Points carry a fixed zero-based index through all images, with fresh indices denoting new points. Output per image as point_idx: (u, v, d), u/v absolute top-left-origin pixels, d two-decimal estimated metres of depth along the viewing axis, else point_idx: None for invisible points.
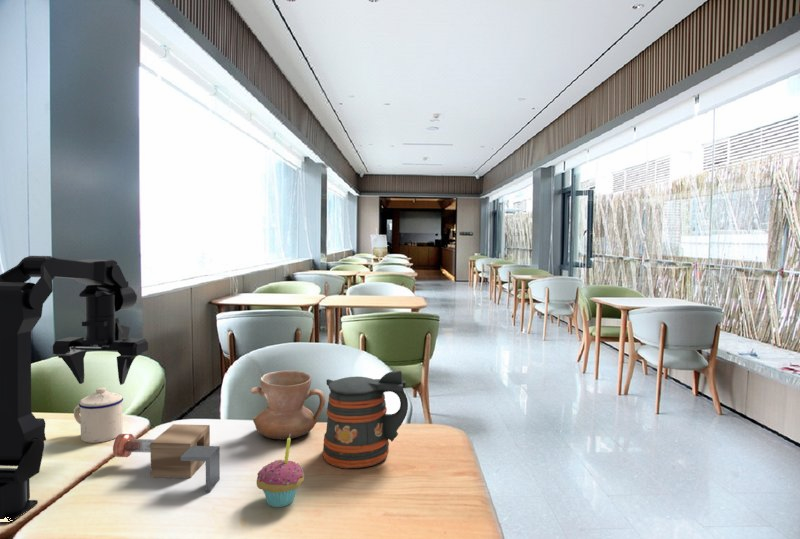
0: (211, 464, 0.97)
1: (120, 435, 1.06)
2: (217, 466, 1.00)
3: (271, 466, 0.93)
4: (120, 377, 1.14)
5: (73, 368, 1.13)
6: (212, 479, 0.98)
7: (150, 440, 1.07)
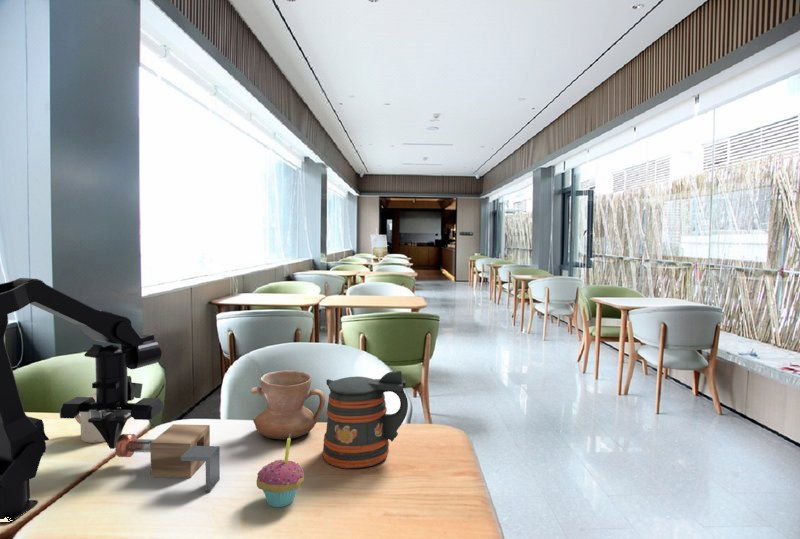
0: (211, 464, 0.97)
1: (123, 435, 1.06)
2: (217, 466, 1.00)
3: (271, 466, 0.93)
4: (112, 441, 1.06)
5: (104, 433, 1.05)
6: (212, 479, 0.98)
7: None
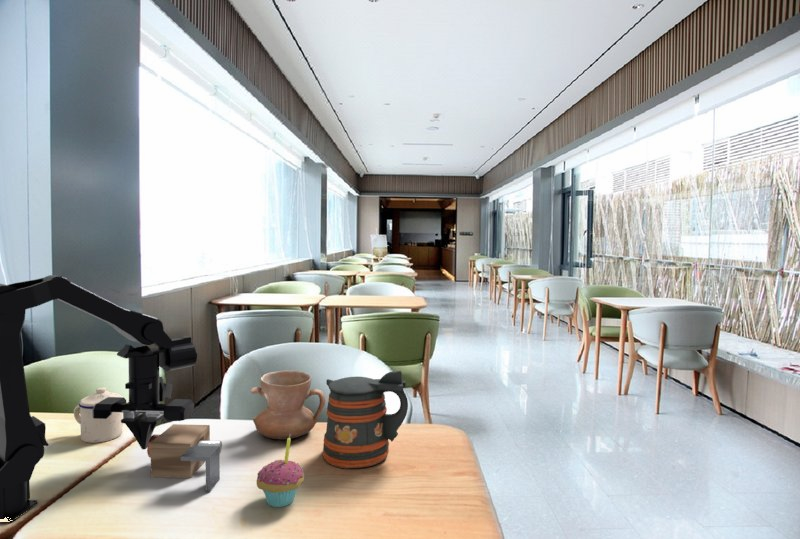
0: (211, 464, 0.97)
1: (154, 436, 1.06)
2: (217, 466, 1.00)
3: (271, 466, 0.93)
4: (143, 442, 1.06)
5: (136, 433, 1.05)
6: (212, 479, 0.98)
7: None
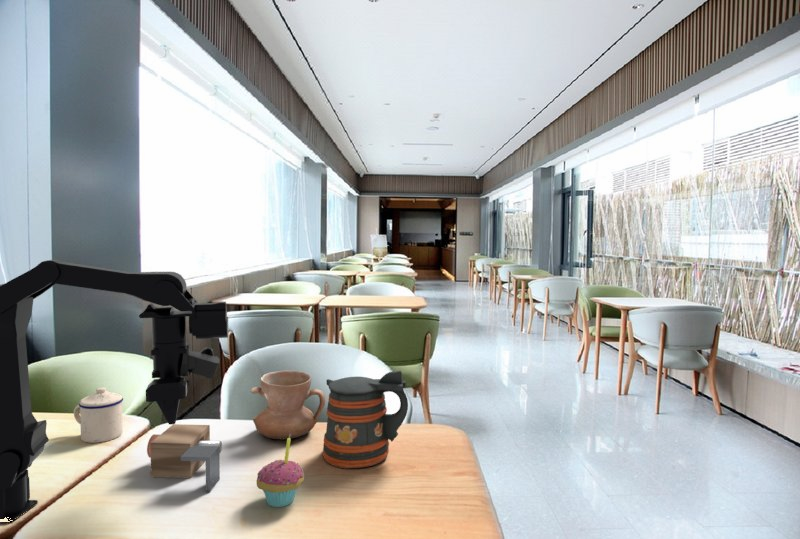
0: (211, 464, 0.97)
1: (154, 436, 1.06)
2: (217, 466, 1.00)
3: (271, 466, 0.93)
4: None
5: None
6: (212, 479, 0.98)
7: None
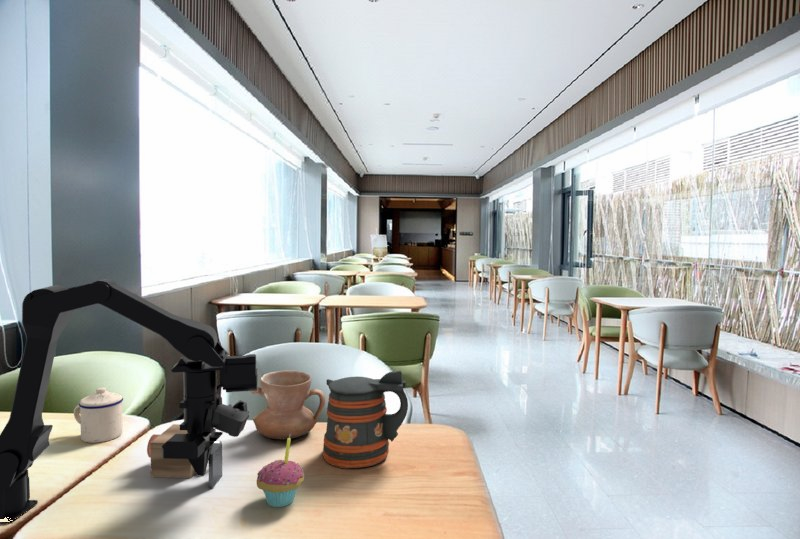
0: (213, 461, 0.98)
1: (154, 436, 1.06)
2: (219, 463, 1.01)
3: (271, 466, 0.93)
4: None
5: None
6: (215, 475, 0.99)
7: None
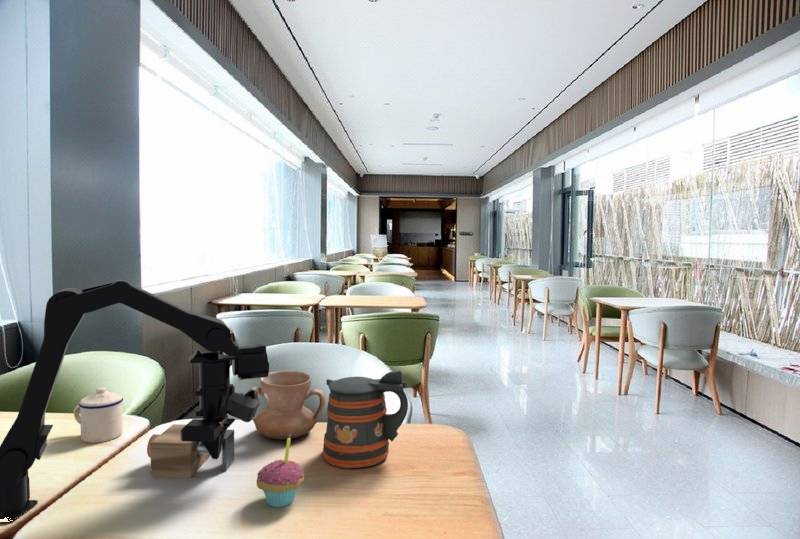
0: (226, 446, 1.05)
1: (154, 436, 1.06)
2: (232, 448, 1.09)
3: (271, 466, 0.93)
4: None
5: None
6: (228, 459, 1.06)
7: None
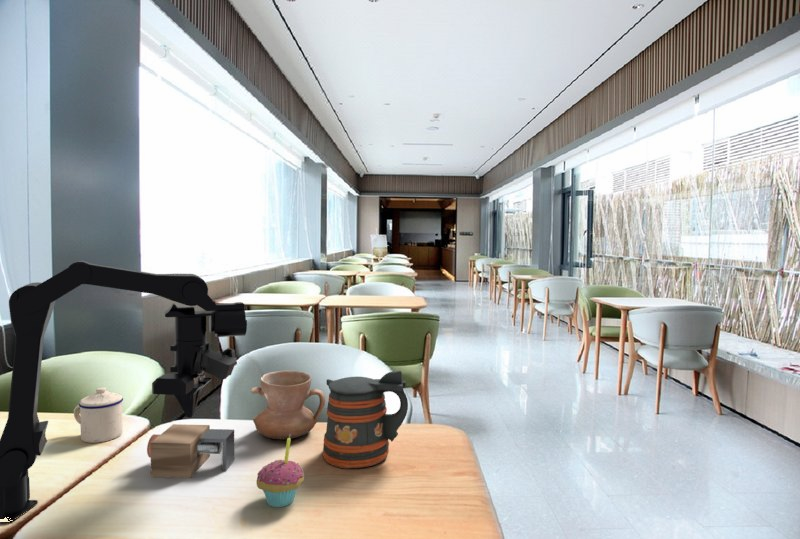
0: (227, 445, 1.05)
1: (154, 436, 1.06)
2: (232, 447, 1.09)
3: (271, 466, 0.93)
4: None
5: None
6: (228, 459, 1.06)
7: None
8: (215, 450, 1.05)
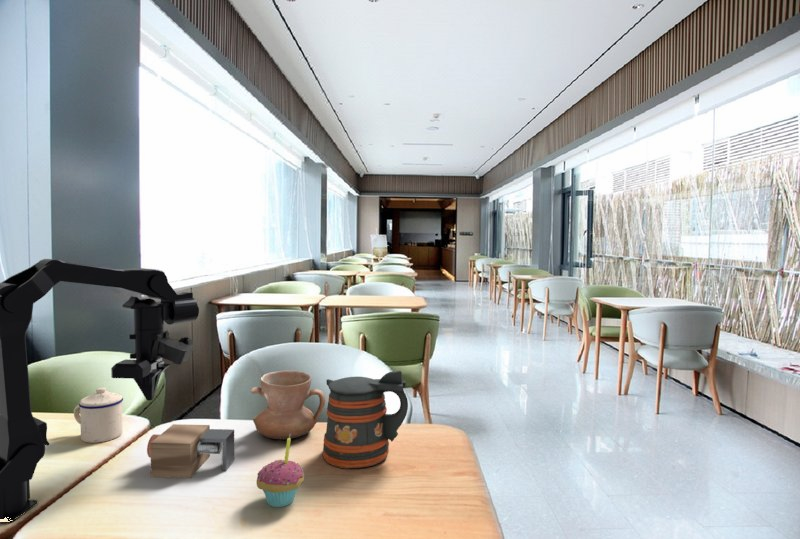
0: (227, 445, 1.05)
1: (154, 436, 1.06)
2: (232, 447, 1.09)
3: (271, 466, 0.93)
4: None
5: None
6: (228, 459, 1.06)
7: None
8: (215, 450, 1.05)
